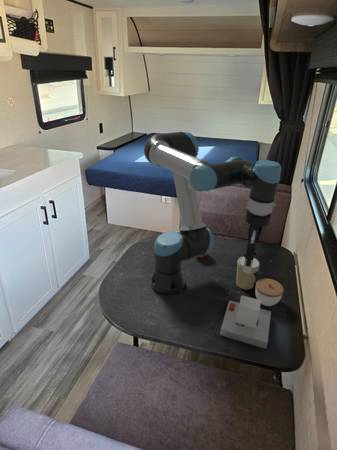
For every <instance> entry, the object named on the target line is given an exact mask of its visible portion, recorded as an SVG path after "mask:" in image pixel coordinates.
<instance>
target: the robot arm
mask: <svg viewBox="0 0 337 450" xmlns="http://www.w3.org/2000/svg"><path fill="white" fill-rule="evenodd" d="M199 151H200V148H199V143H198V139H197V138H196V137H195V135H194V134H192V133H191V132H189V131H174V132H166V133H157V134H154V135H152V136H150V137H149V138H148V139H147V140H146V142H145V144H144V147H143V154H144V157H145V159H146V160H147V161H148V162H149V163H150V164H152V165H153V166H156V167H163V168H165V169H167V170H169V171H171V172H172V177H173V182H174V186H175V191H176V192H175V193H176V198H177V204H178V208H179V216H180V220H181V221H180V222H181V226H180V228H179V229H178V230H179V232H176V231H165V232H164V233H161V234H159V235H158V236H157V237H156V239H155V241H154V248H153V252H154V259H153V261H154V267H153V268H154V269H153V271H152V274H151V276H150V288H152V289H153V290H154V291H155V292H156V293H159V294H163V295H174V294H178V293H179V292H181V291H183V289H184V287H185V282H186V281H185V280H186V279H185V276H184V273H183V270H182V265H183V263H184V262H187V261H190V260H193V259H196V258H199V257H201V256H204V255H206V254H208V253H209V254H210V253H211V252H212V250H213V248H214V245H215V239H214V235H213V233H212V231H211V229H209V228H208V227H207V224H205V223H204V222H202V217H201V211H200V210H201V209H200V204H199V199H198V195H197V194H198V193H197V192H199V193H200V192H208V191H209V192H210V191H213V190H216V189H222V188H227V187H231V186H237V185H240V186H241V185H242V186H244V187H245V188H248V189H249V191H250V192H249V196H248V201H247V206H246V212H245V213H246V214H245V219H244V220H245V222H246V223H247V224H248V225H249V228H248V231H247V232H248V236H247V240H248V241H247V245H246V246H247V247H246V252H245V253H244V254H243V256H244V257H245V262H244V267H243V272H246V273H251V269H252V264H253V259H254V258H255V256H257V254H258V252H256V250H257V248H256V247H257V243H259V240H260V237H261V235H262V232H263V231H262V230H263V228H265V227H267V226H269V225H270V224H271V223H270V221H271V218H272V212H273V208H275V207H276V205H277V204H276V203H275V200H276V194H277V191H278V187H279V183H280V181H281V174H282V166H281V164H280V163H279V162H276V161H273V160H268V159H260V160H257V161H256V163H253V162H252V161H250V160H246V158H243V157H238V156H231V157H229V158H228V159H227V160H225V162H224V161H223V162H217V163H211V162H208V161H205V160H203V159H201V158H198V154H199ZM209 254H208V255H209Z"/></svg>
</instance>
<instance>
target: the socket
mask: <svg viewBox="0 0 337 450" xmlns="http://www.w3.org/2000/svg"><path fill="white" fill-rule="evenodd" d="M239 303H240V302H238V301H233V300H229V301H228V304H227V307H226V310H225V313H224V317H223V321H222V324H221V327H220V332H219V336H222V337H226V338H228V339H233V340H235V341H239V342H242V343H245V344H248V345H252V346H256V347H258V348H261V349H265V350H267V346H268V343H269V335H270V334H269V333H270V323H271V318H272V317H271V315H272V311H271V310H267V309H263V308H260V310H259V315H258V320H257V324H256V328H253V327H249V326H246V325H242V326H240V325H238V323H236V319H237V314H238V308H239Z"/></svg>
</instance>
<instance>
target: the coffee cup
mask: <svg viewBox="0 0 337 450" xmlns="http://www.w3.org/2000/svg"><path fill="white" fill-rule="evenodd" d="M244 262H245V257H244V255H242V256H240V257H239V258H238V259H237V264H236V278H235V279H236V280H235V284H236V286H237V287H238V288H240V289H242V290H251V289H253V288H254V285H255V284H256V279H257V275H258V272H259V268H260V266H261V264H260V261H259V260H258V259H257V258H255V257H254V259H253V264H252V269H251V273H246V272H243V267H244Z"/></svg>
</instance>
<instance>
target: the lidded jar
mask: <svg viewBox="0 0 337 450" xmlns="http://www.w3.org/2000/svg"><path fill="white" fill-rule="evenodd" d="M254 288H255V290H254V293H255V297H256V298H255V299H258V300H261V304H260V305H262V306H264V307H272V306H275V305H277V304H278V303H280V300H281V299H282V296H283V293H284V290H285V289H284V286H283V285H282V284H281V283H280V282H278V281H277V280H275V279H272V278H267V277H266V278H260V279H258V280H257V281H255V287H254Z"/></svg>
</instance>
